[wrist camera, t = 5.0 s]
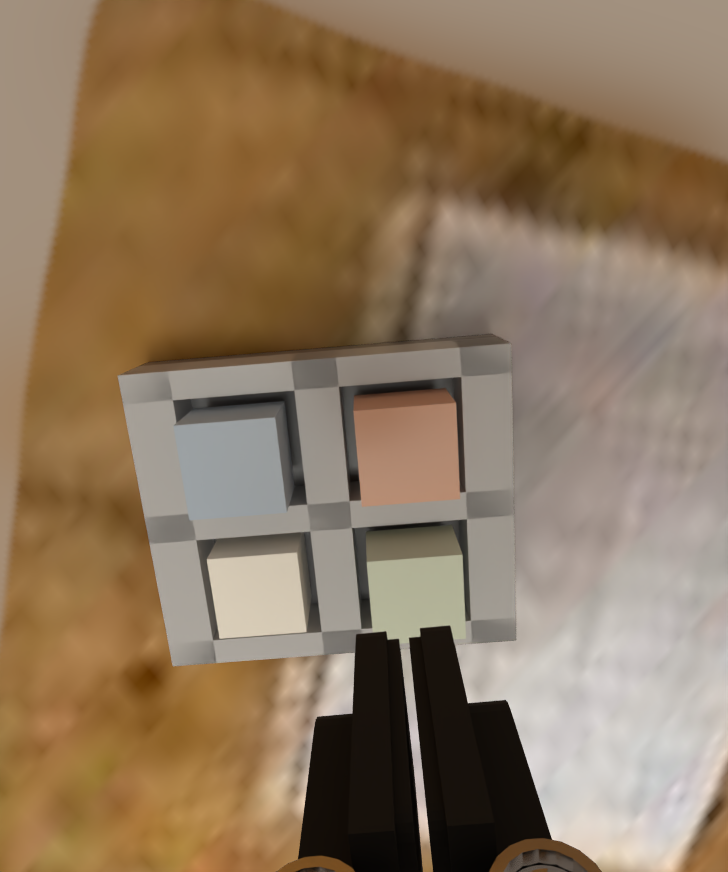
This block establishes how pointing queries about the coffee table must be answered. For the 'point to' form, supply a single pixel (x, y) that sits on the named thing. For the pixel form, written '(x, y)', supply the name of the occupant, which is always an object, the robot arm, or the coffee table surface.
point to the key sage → (415, 581)
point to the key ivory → (260, 585)
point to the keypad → (328, 485)
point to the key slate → (235, 460)
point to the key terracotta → (407, 447)
